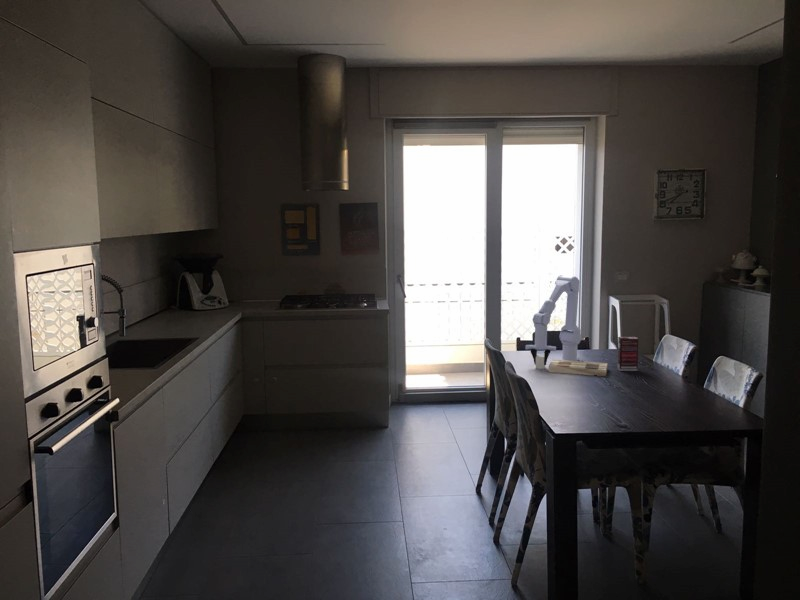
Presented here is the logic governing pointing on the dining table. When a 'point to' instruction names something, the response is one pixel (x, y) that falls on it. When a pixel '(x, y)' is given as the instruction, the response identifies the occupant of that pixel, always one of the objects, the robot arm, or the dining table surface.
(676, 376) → the dining table surface
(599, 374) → the socket block
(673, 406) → the dining table surface
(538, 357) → the plug
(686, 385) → the dining table surface
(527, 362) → the dining table surface
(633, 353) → the supplement box
